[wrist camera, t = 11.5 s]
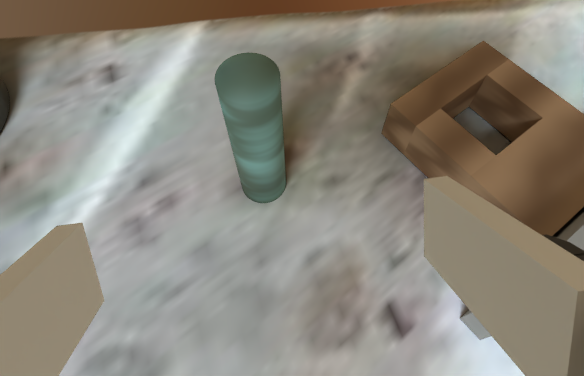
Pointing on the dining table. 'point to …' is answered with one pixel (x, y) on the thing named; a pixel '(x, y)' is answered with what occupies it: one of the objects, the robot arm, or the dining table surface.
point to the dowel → (254, 122)
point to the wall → (576, 231)
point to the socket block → (507, 120)
